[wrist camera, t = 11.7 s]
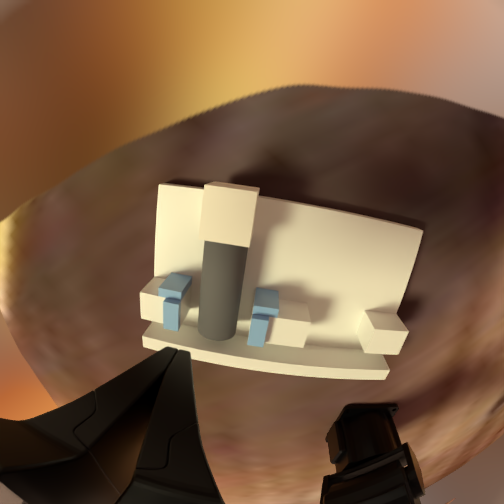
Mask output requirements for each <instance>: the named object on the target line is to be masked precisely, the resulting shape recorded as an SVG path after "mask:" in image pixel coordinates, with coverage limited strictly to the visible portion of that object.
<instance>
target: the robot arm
mask: <svg viewBox="0 0 504 504" xmlns="http://www.w3.org/2000/svg"><path fill="white" fill-rule="evenodd" d="M94 391H95V392H94ZM94 391H91V392H89V393H88V394H86V395H84V396H82V397H80V398H78V399H76V400H75V401H73V402H70V403H68V404H66V405H64V406H61V407H59V408H57V409H54V410H52V411H50V412H47V413H44V414H42V415H39V416H37V417H34V418H31V419H27V420H21V421H15V420H8V419H3V418H0V504H225V503H224V501H223V499H222V497H221V494H220V492H219V490H218V487H217V485H216V482H215V480H214V477H213V475H212V472H211V470H210V467H209V464H208V462H207V459H206V455H205V452H204V449H203V446H202V441H201V436H200V430H199V424H198V416H197V408H196V400H195V392H194V383H193V373H192V363H191V353H190V351H186V350H182V349H179V350H178V349H177V348H173V347H169V346H166V347H164V348H163V349H161V350H160V351H158V352H156V353H155V354H153V355H151V356H150V357H148V358H147V359H145V360H143V361H142V362H140V363H138V364H137V365H135V366H133V367H132V368H130V369H128V370H127V371H125V372H123V373H122V374H120V375H118V376H117V377H115V378H113V379H112V380H110V381H108V382H107V383H105V384H103V385H102V386H100V387H98V388H96V389H95V390H94ZM398 409H399V408H398V405H397V404H392V405H364V406H346V407H344V408H343V410H342V411H341V413H340V415H339V417H338V418H337V420H336V421H335V422H334V423H333V425H332V427H331V428H330V430H329V432H328V433H327V436H326V438H325V440H326V442H328V447H329V455H330V462H331V463H332V464H335V466H336V473H335V474H332V475H327V476H324V478H323V484H322V491H321V499H320V504H421V502H420V497H422V496H424V495H425V489H424V484H423V478H422V473H421V469H420V467H419V464H418V461H417V458H416V456H415V454H414V452H413V451H412V449H411V447H410V446H409V444H408V442H406V443H404V444H401V441H400V438H399V435H398V432H397V429H396V427H395V424H394V421H393V418H392V417H393V416H394V415H395V413H396V412H397V410H398ZM406 465H408V466H407V467H405V468H404V466H406Z"/></svg>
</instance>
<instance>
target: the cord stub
mask: <svg viewBox="0 0 504 504" xmlns="http://www.w3.org/2000/svg"><path fill="white" fill-rule="evenodd" d="M259 190H260V188H258V187H251V186H244V185H237V184H230V183H223V182H215V181H214V182H211V183H208V184H205V185H204V192H203V200H202V209H201V219H200V229H199V240H205V241H204V251H203V262H202V274H201V286H200V300H199V314H198V332H199V333H200V334H201V335H202V336H203V337H205V338H207V339H210V340H214V341H224V340H228V339H231V338H232V337H233V336H234V335H235V333H236V327H237V320H238V313H239V307H240V300H241V293H242V286H243V279H244V273H245V266H246V259H247V253H248V247H249V246H250V243H251V239H252V235H253V229H254V222H255V216H256V209H257V203H258V196H259Z"/></svg>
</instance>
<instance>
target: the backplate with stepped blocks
mask: <svg viewBox="0 0 504 504" xmlns="http://www.w3.org/2000/svg"><path fill="white" fill-rule="evenodd" d="M203 192H204V188H203V187H195V186H186V185H178V184H168V183H163V184H159V190H158V203H157V217H156V235H155V268H154V278H153V279H152V280H151V281H150V282H149V283H148V284H147V285H146V286H145V287H144V288H143V289H142V290H141V291H140V306H141V318H142V319H146V320H150V321H152V323H151V324H150V326H149V327H148V328H147V330H146V331H145V333H144V334H143V336H142V338H143V347H146V348H150V349H153V350H157V351H160V350H161V349H163V348H164V347H166V346H169V347H173V348H177V349H178V350H179V349H182V350H186V351H190V353H191V359H195V360H200V361H205V362H210V363H215V364H220V365H226V366H231V367H237V368H243V369H250V370H257V371H264V372H271V373H279V374H288V375H298V376H308V377H321V378H337V379H363V380H385V378H386V377H387V375H388V373H389V371H390V369H389V367H388V365H387V363H386V361H385V359H384V357H383V355H382V354H396V355H398V354H399V351H400V349H401V347H402V345H403V343H404V341H405V339H406V337H407V335H408V332H409V331H408V330H407V328H406V327H405V325H404V324H403V323H402V321H401V320H400V318H399V317H398V315H397V314H396V313H397V311H398V308H399V306H400V303H401V300H402V298H403V295H404V292H405V289H406V286H407V284H408V281H409V278H410V275H411V272H412V268H413V265H414V262H415V259H416V255H417V252H418V249H419V245H420V241H421V238H422V234H423V231H422V230H420V229H418V228H416V227H412V226H408V225H404V224H400V223H396V222H392V221H387V220H383V219H379V218H374V217H370V216H365V215H361V214H356V213H352V212H347V211H342V210H337V209H332V208H327V207H322V206H317V205H311V204H306V203H301V202H295V201H289V200H284V199H278V198H272V197H266V196H258V203H257V209H256V216H255V222H254V229H253V235H252V239H251V243H250V246H249V247H248V253H247V259H246V266H245V273H244V279H243V286H242V293H241V300H240V307H239V313H238V320H237V327H236V333H235V335H234V336H233V337H232V338H231V339H228V340H224V341H214V340H210V339H207V338H205V337H203V336H202V335H201V334H200V333H199V332H198V314H199V300H200V286H201V274H202V262H203V251H204V241H205V240H199V229H200V219H201V209H202V200H203Z"/></svg>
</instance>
